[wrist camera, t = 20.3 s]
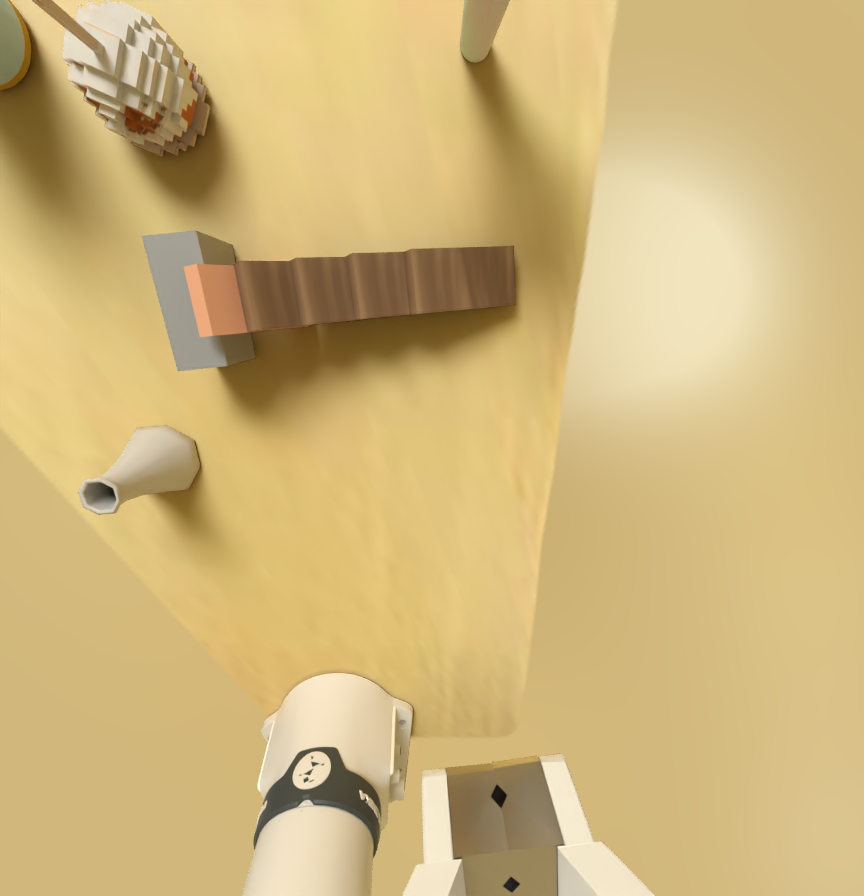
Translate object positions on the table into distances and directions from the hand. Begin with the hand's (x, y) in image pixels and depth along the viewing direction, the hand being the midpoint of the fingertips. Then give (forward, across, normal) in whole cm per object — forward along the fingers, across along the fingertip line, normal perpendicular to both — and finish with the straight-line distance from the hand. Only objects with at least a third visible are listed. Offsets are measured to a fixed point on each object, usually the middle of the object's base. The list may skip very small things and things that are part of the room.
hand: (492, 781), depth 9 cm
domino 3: (+36, +1, -12) cm, 38 cm away
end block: (+37, +18, -12) cm, 43 cm away
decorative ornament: (+37, +19, -28) cm, 50 cm away
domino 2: (+36, +6, -12) cm, 39 cm away
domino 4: (+36, -4, -12) cm, 39 cm away
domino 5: (+36, -9, -12) cm, 39 cm away
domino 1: (+37, +11, -12) cm, 40 cm away
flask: (+37, +27, +2) cm, 46 cm away
